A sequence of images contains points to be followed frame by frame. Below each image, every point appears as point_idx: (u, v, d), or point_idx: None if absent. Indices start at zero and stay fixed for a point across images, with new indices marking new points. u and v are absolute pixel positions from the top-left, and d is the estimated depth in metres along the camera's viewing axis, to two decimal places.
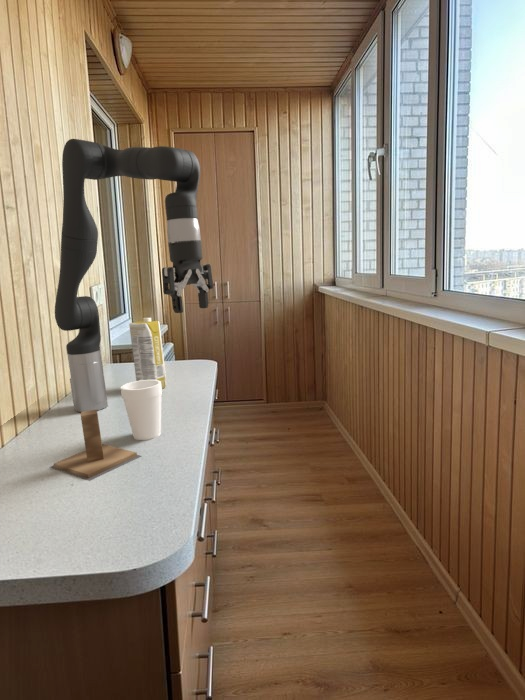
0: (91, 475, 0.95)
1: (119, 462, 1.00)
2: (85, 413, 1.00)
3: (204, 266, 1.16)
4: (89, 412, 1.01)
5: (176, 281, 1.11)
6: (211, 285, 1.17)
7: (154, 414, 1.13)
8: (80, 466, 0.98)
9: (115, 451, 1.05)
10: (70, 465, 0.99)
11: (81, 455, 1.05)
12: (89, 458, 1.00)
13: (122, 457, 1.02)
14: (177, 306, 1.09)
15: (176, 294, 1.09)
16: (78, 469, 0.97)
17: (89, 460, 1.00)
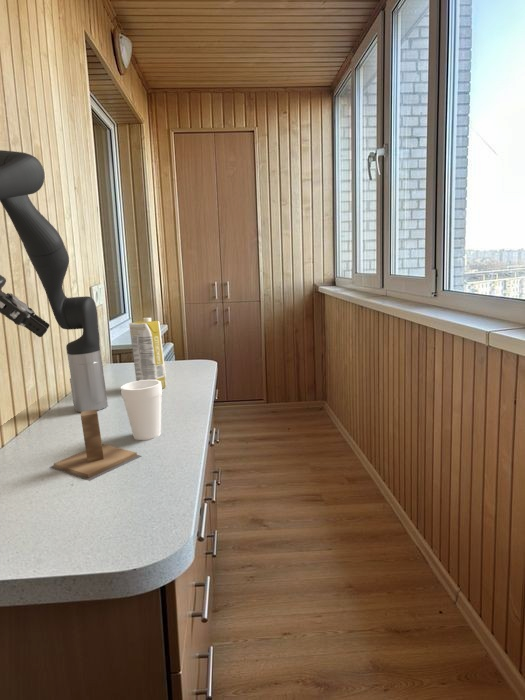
0: (91, 475, 0.95)
1: (119, 462, 1.00)
2: (85, 413, 1.00)
3: None
4: (89, 412, 1.01)
5: (20, 303, 0.98)
6: None
7: (154, 414, 1.13)
8: (80, 466, 0.98)
9: (115, 451, 1.05)
10: (70, 465, 0.99)
11: (81, 455, 1.05)
12: (89, 458, 1.00)
13: (122, 457, 1.02)
14: None
15: None
16: (78, 469, 0.97)
17: (89, 460, 1.00)
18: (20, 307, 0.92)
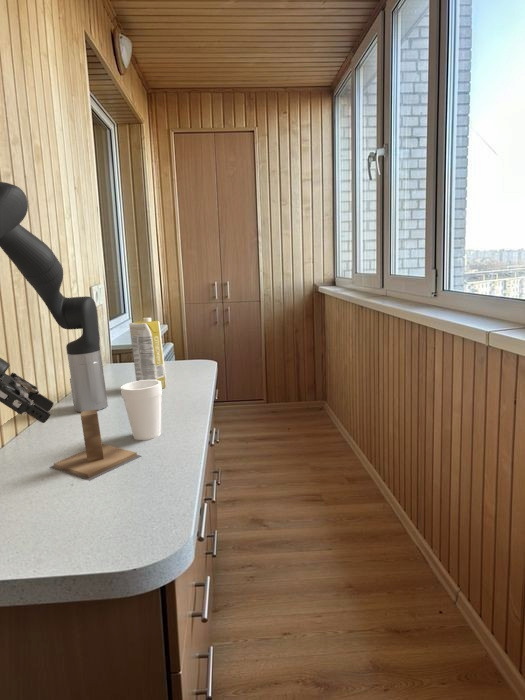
0: (91, 475, 0.95)
1: (119, 462, 1.00)
2: (85, 413, 1.00)
3: None
4: (89, 412, 1.01)
5: None
6: None
7: (154, 414, 1.13)
8: (80, 466, 0.98)
9: (115, 451, 1.05)
10: (70, 465, 0.99)
11: (81, 455, 1.05)
12: (89, 458, 1.00)
13: (122, 457, 1.02)
14: None
15: None
16: (78, 469, 0.97)
17: (89, 460, 1.00)
18: (23, 394, 0.92)
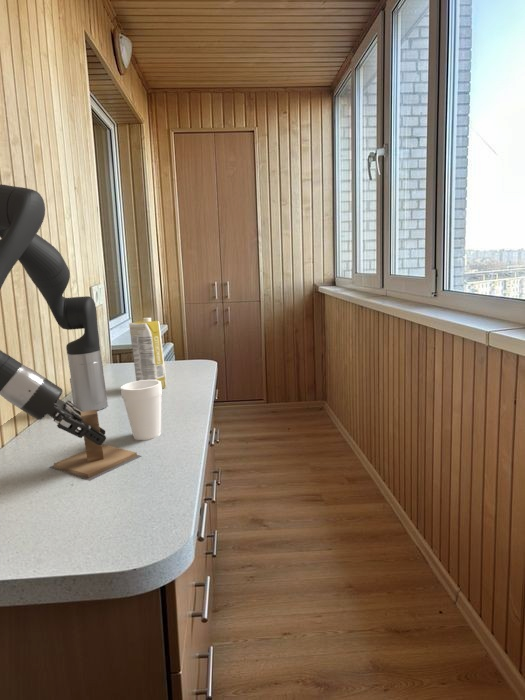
0: (91, 475, 0.95)
1: (119, 462, 1.00)
2: (85, 413, 1.00)
3: None
4: (89, 412, 1.01)
5: None
6: None
7: (154, 414, 1.13)
8: (80, 466, 0.98)
9: (115, 451, 1.05)
10: (70, 465, 0.99)
11: (81, 455, 1.05)
12: (89, 458, 1.00)
13: (122, 457, 1.01)
14: None
15: None
16: (78, 469, 0.97)
17: (89, 460, 1.00)
18: (81, 420, 0.98)
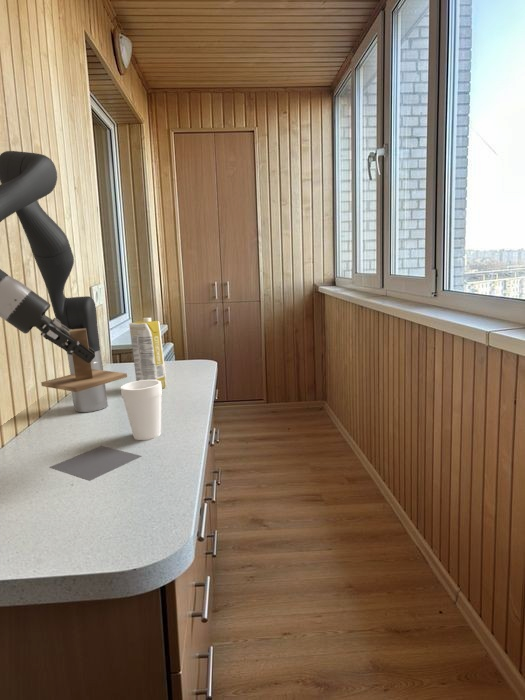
0: (79, 389, 0.92)
1: (108, 380, 0.97)
2: (74, 330, 0.97)
3: None
4: (78, 329, 0.98)
5: (64, 329, 0.99)
6: None
7: (154, 414, 1.13)
8: (68, 383, 0.96)
9: (105, 373, 1.02)
10: (58, 382, 0.97)
11: (70, 376, 1.02)
12: (78, 376, 0.98)
13: (112, 376, 0.99)
14: None
15: None
16: (66, 385, 0.94)
17: (78, 378, 0.98)
18: (69, 335, 0.95)
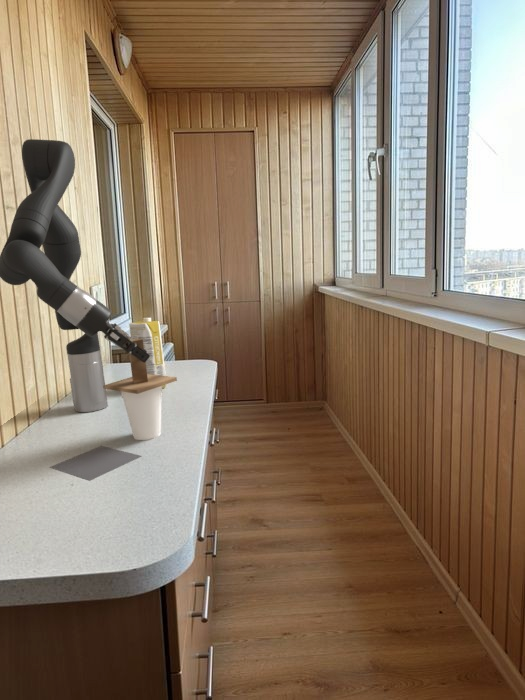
0: (139, 391, 1.06)
1: (162, 383, 1.12)
2: (132, 340, 1.12)
3: None
4: (135, 339, 1.12)
5: None
6: None
7: (154, 414, 1.13)
8: (128, 386, 1.10)
9: (157, 377, 1.17)
10: (119, 385, 1.11)
11: (126, 380, 1.16)
12: (135, 380, 1.12)
13: (164, 380, 1.13)
14: None
15: None
16: (127, 387, 1.09)
17: (135, 382, 1.12)
18: (128, 337, 1.08)
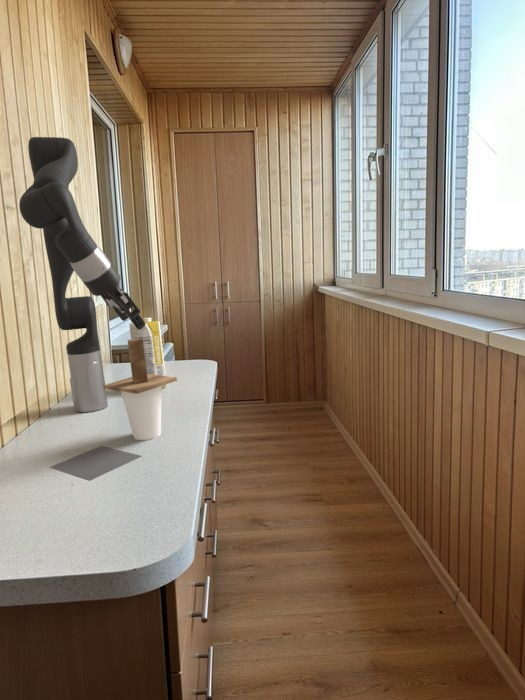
0: (139, 391, 1.06)
1: (162, 383, 1.12)
2: (132, 340, 1.12)
3: None
4: (135, 339, 1.12)
5: None
6: (129, 316, 1.10)
7: (154, 414, 1.13)
8: (128, 386, 1.10)
9: (157, 377, 1.17)
10: (119, 385, 1.11)
11: (126, 380, 1.16)
12: (135, 380, 1.12)
13: (164, 380, 1.13)
14: None
15: None
16: (127, 387, 1.09)
17: (135, 382, 1.12)
18: None
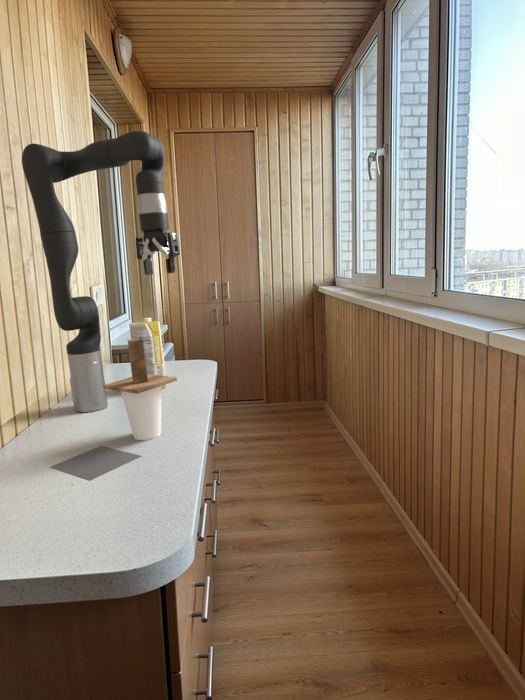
0: (139, 391, 1.06)
1: (162, 383, 1.12)
2: (132, 340, 1.12)
3: None
4: (135, 339, 1.12)
5: None
6: (170, 252, 1.26)
7: (154, 414, 1.13)
8: (128, 386, 1.10)
9: (157, 377, 1.17)
10: (119, 385, 1.11)
11: (126, 380, 1.16)
12: (135, 380, 1.12)
13: (164, 380, 1.13)
14: (144, 269, 1.34)
15: None
16: (127, 387, 1.09)
17: (135, 382, 1.12)
18: None
